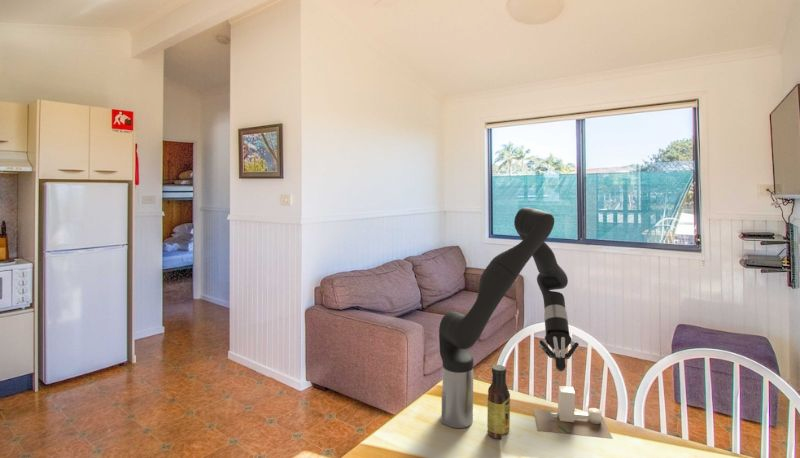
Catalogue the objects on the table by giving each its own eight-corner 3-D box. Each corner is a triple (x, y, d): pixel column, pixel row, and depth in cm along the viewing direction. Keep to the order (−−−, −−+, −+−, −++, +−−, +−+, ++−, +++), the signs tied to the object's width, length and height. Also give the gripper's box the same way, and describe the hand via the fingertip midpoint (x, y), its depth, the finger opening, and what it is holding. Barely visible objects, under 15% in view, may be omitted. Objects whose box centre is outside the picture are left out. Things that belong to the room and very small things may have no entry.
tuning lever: (599, 417, 130) (600, 389, 129) (602, 424, 126) (604, 395, 125) (550, 412, 133) (551, 385, 131) (552, 420, 129) (553, 391, 128)
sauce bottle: (509, 441, 121) (511, 374, 119) (487, 439, 123) (488, 372, 120) (508, 428, 128) (510, 364, 125) (487, 426, 129) (488, 362, 127)
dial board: (537, 435, 124) (537, 430, 124) (533, 413, 136) (533, 408, 135) (612, 443, 120) (612, 437, 120) (601, 419, 132) (601, 414, 132)
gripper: (537, 315, 148) (540, 364, 137) (578, 317, 145) (585, 367, 135) (535, 324, 153) (538, 373, 143) (574, 327, 151) (580, 376, 140)
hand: (561, 370), depth 139 cm, fingers closed
